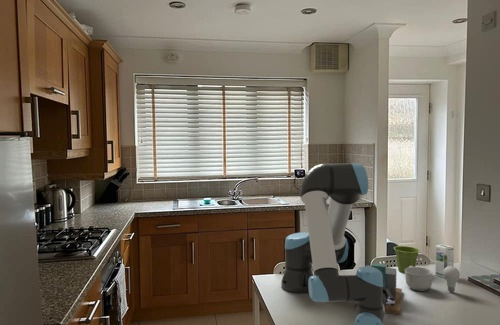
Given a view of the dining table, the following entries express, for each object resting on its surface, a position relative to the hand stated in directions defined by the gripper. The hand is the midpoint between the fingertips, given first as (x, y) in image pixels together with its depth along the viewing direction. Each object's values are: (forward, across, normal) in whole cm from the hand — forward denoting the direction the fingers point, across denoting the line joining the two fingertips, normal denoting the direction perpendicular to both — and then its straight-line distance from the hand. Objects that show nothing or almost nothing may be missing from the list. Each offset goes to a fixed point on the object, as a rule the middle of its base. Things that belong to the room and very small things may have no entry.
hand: (379, 283), depth 139 cm
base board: (+5, 0, -8) cm, 10 cm away
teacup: (+26, +14, -9) cm, 30 cm away
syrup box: (+46, +26, -9) cm, 53 cm away
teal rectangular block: (+7, 0, -5) cm, 9 cm away
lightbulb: (+25, +27, -9) cm, 37 cm away
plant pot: (+46, +9, -9) cm, 47 cm away
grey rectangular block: (+9, 0, -7) cm, 11 cm away
